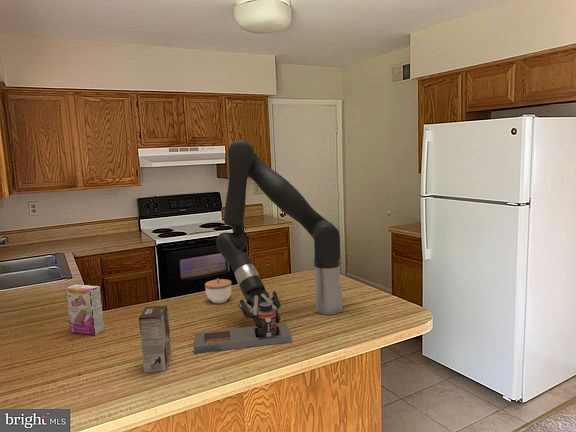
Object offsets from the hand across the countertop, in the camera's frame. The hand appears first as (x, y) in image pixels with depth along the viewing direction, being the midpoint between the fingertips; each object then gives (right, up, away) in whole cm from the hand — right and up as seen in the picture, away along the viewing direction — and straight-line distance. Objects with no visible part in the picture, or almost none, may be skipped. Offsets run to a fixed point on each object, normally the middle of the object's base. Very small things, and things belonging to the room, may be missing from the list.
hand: (269, 324), depth 139 cm
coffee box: (-32, -8, -13) cm, 35 cm away
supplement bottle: (-1, -5, +2) cm, 5 cm away
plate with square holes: (-9, -5, +1) cm, 10 cm away
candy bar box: (-64, -6, +14) cm, 66 cm away
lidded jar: (-22, -1, +41) cm, 47 cm away
